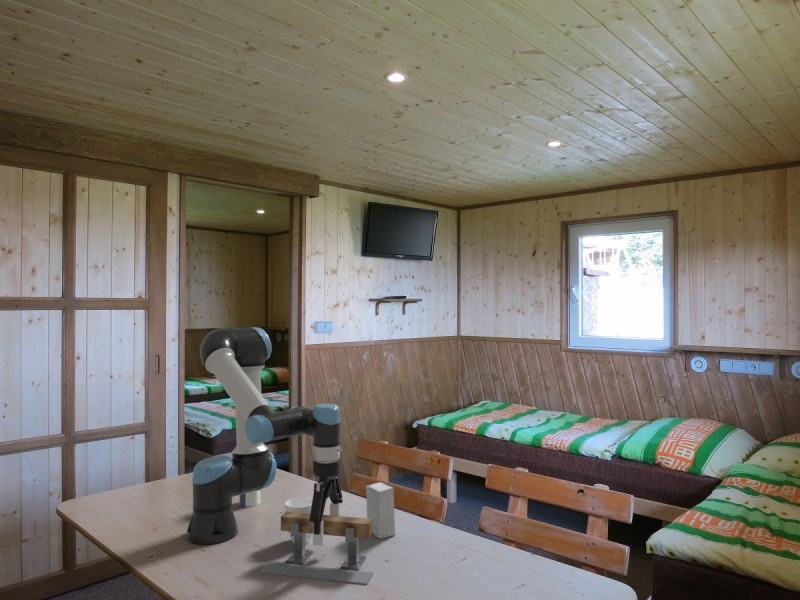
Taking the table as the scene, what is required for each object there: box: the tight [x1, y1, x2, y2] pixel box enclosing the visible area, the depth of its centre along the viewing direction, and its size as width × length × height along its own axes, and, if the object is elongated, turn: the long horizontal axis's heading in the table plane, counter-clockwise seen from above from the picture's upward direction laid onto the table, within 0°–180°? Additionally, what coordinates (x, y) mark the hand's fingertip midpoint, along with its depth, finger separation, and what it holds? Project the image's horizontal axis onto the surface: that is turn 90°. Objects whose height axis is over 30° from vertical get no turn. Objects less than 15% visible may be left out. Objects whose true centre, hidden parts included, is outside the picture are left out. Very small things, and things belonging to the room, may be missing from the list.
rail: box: [280, 511, 373, 540], centre depth 160 cm, size 26×4×4 cm, turn 77°
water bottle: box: [238, 490, 261, 508], centre depth 207 cm, size 8×8×25 cm
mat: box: [259, 560, 374, 586], centre depth 153 cm, size 30×6×1 cm, turn 77°
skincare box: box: [365, 482, 396, 540], centre depth 180 cm, size 8×6×15 cm
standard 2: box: [339, 527, 367, 571], centre depth 159 cm, size 5×8×11 cm, turn 167°
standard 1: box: [285, 522, 314, 565], centre depth 162 cm, size 5×8×11 cm, turn 167°
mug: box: [284, 497, 313, 545], centre depth 175 cm, size 12×9×12 cm
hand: (326, 535), depth 160 cm, fingers open, 13 cm apart
